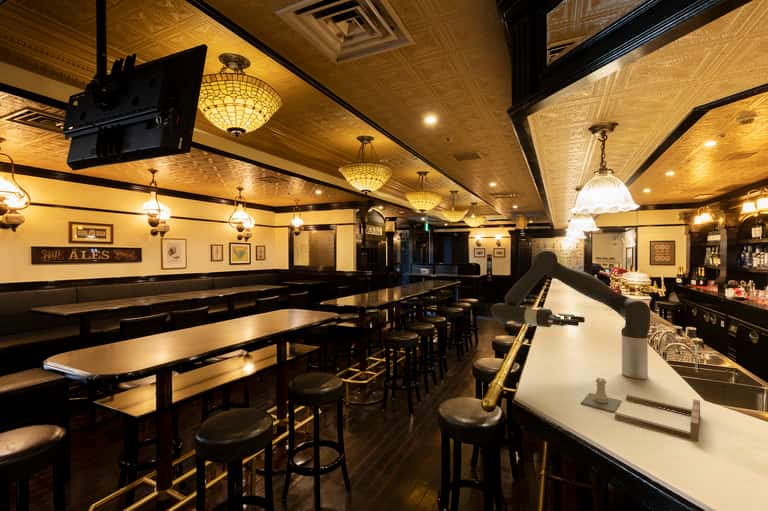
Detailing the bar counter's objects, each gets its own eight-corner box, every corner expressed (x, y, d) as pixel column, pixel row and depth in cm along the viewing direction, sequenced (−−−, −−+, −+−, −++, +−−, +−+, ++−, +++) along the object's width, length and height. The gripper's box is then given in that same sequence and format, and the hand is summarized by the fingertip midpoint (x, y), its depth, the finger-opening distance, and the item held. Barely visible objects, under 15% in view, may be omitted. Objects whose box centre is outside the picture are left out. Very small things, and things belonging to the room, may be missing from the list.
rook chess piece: (606, 399, 123) (606, 377, 123) (610, 404, 118) (610, 381, 118) (592, 398, 124) (592, 376, 124) (595, 403, 120) (595, 380, 120)
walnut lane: (627, 398, 125) (627, 385, 125) (700, 416, 111) (700, 400, 111) (615, 418, 109) (615, 403, 109) (698, 441, 96) (698, 423, 96)
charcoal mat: (589, 394, 129) (589, 392, 129) (621, 401, 122) (621, 400, 122) (580, 403, 120) (580, 402, 120) (614, 412, 113) (614, 411, 113)
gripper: (531, 310, 139) (576, 314, 128) (544, 306, 149) (586, 309, 138) (532, 328, 139) (576, 334, 127) (544, 323, 149) (586, 328, 138)
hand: (581, 321), depth 133 cm, fingers open, 8 cm apart
